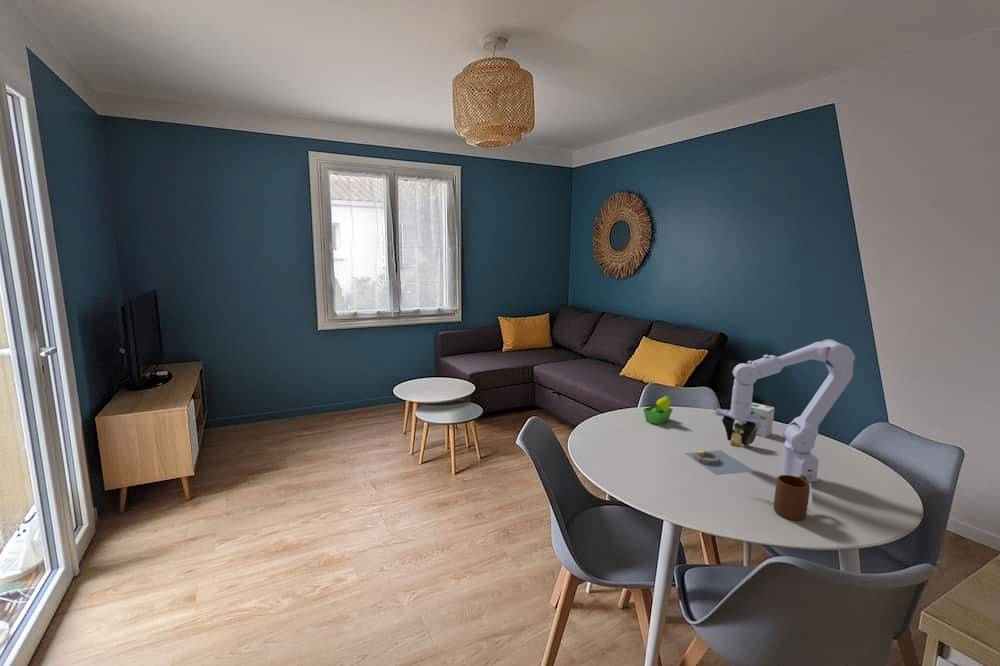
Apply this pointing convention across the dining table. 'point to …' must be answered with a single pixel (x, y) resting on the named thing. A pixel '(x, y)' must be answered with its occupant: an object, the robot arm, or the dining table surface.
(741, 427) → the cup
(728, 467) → the blue-grey flat slab
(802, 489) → the mug
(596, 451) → the dining table surface
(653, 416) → the fruit basket
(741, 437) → the knob
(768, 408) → the light bulb box
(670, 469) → the dining table surface
